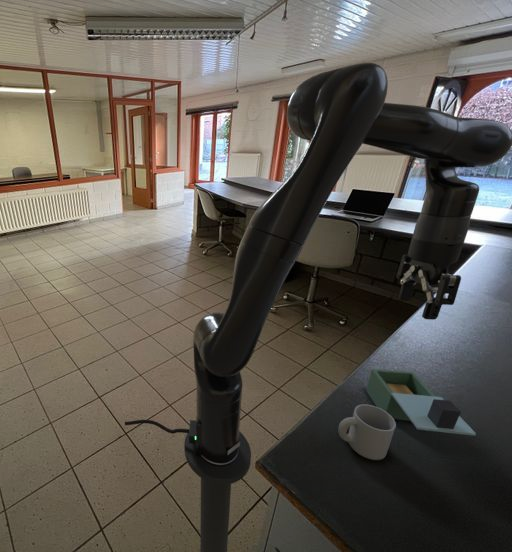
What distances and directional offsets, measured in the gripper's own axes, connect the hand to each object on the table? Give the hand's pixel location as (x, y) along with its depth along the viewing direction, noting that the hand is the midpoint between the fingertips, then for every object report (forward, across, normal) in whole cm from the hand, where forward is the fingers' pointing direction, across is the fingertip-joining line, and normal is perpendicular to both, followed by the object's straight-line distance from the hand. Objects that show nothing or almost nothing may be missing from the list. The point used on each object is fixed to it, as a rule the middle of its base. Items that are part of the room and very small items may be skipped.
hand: (415, 308), depth 65 cm
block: (+29, -3, +4) cm, 30 cm away
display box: (+30, -3, +4) cm, 31 cm away
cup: (+30, +11, -10) cm, 34 cm away
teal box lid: (+22, +7, +4) cm, 24 cm away
